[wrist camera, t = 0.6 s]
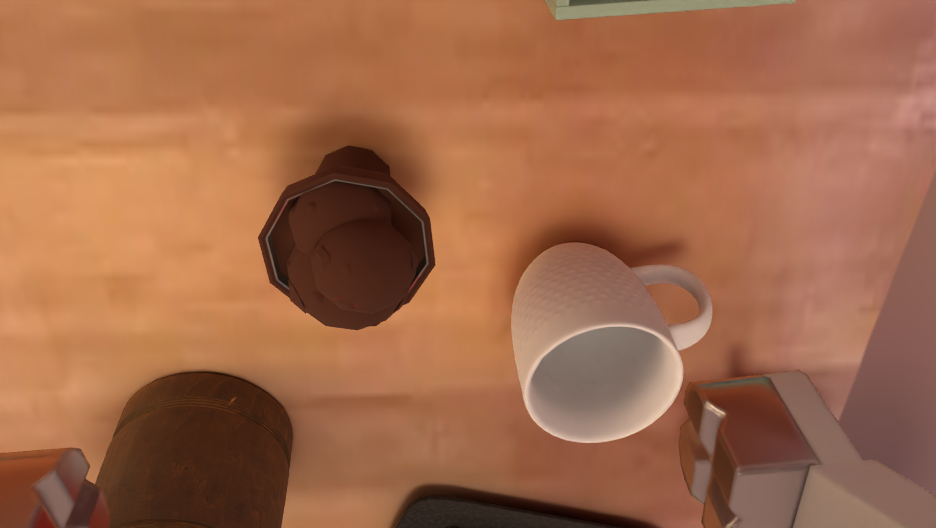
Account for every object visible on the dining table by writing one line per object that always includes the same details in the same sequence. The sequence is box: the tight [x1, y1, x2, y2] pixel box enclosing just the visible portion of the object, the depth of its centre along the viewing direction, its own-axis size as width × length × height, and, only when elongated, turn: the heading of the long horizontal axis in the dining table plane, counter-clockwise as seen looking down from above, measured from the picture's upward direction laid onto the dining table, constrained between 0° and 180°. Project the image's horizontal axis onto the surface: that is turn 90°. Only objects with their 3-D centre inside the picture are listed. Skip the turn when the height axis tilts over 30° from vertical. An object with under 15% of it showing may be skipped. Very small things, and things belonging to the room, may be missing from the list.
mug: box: [511, 242, 712, 443], centre depth 58 cm, size 15×11×13 cm
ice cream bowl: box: [258, 146, 435, 330], centre depth 50 cm, size 11×11×15 cm
